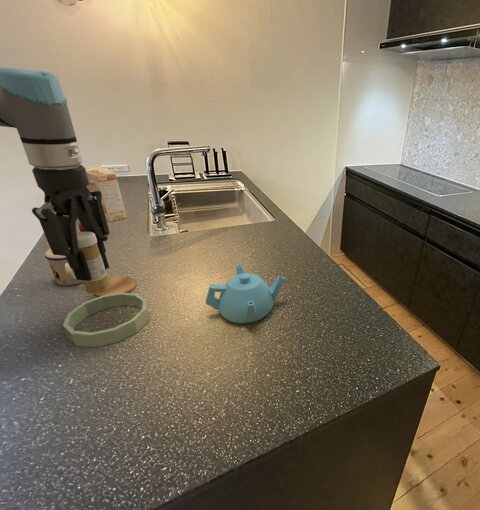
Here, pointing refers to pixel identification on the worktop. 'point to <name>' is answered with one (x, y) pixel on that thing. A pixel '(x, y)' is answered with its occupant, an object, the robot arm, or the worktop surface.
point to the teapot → (244, 297)
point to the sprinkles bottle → (93, 263)
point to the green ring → (109, 334)
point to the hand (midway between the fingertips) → (93, 273)
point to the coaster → (119, 286)
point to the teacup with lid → (61, 269)
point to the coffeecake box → (107, 192)
